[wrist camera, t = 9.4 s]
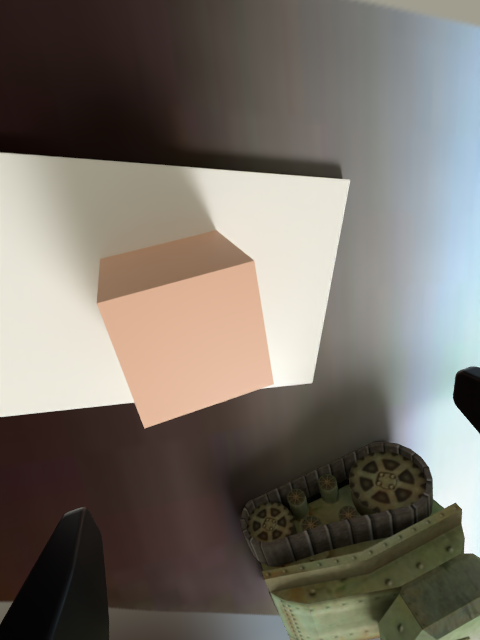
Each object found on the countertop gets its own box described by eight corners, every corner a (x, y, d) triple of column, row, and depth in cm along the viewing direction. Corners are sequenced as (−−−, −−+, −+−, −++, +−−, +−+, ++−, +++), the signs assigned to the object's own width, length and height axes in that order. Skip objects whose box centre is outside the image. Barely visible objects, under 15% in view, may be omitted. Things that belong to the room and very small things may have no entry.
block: (216, 230, 17) (254, 260, 12) (235, 328, 19) (274, 384, 14) (100, 258, 16) (96, 303, 11) (136, 359, 18) (144, 428, 14)
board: (343, 178, 18) (350, 179, 17) (307, 377, 22) (312, 383, 22) (-60, 147, 13) (-68, 147, 13) (-5, 409, 17) (-9, 417, 17)
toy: (461, 483, 33) (587, 605, 24) (266, 582, 30) (330, 760, 21) (464, 397, 28) (623, 510, 19) (233, 506, 25) (298, 695, 17)
